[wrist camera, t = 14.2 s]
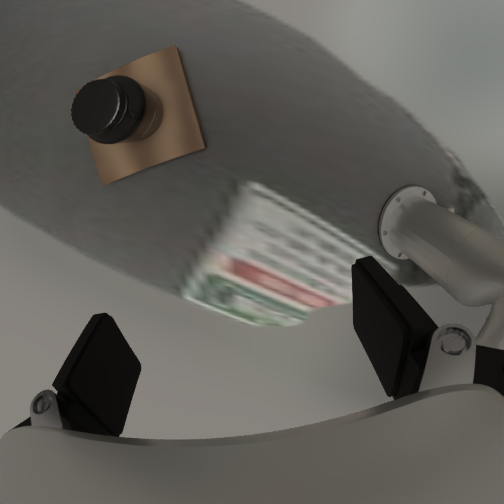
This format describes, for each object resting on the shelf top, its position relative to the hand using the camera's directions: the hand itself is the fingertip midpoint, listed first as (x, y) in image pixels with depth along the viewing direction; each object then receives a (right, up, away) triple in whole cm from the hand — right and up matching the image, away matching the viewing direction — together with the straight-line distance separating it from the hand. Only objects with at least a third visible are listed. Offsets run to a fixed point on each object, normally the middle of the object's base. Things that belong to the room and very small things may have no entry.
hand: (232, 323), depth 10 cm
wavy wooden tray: (-14, +20, +20) cm, 32 cm away
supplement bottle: (-13, +19, +18) cm, 29 cm away
